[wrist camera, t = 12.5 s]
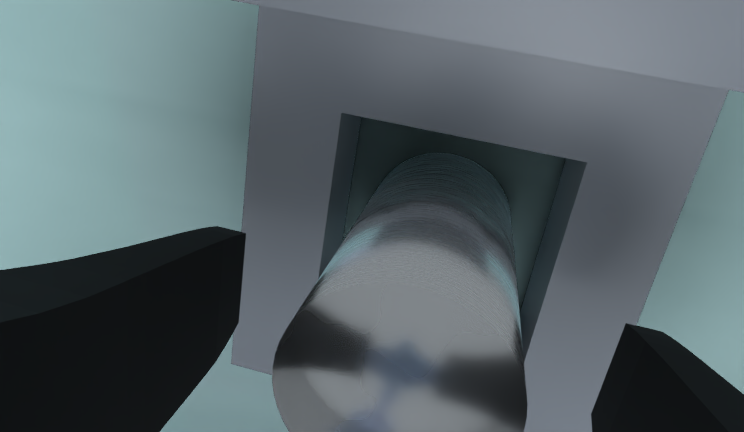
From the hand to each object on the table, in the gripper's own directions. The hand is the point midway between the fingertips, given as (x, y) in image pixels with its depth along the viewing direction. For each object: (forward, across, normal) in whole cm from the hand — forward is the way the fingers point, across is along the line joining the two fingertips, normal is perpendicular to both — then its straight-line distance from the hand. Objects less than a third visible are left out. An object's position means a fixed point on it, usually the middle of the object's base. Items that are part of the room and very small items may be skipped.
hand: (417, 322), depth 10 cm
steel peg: (+6, 0, 0) cm, 6 cm away
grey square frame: (+6, 0, 0) cm, 6 cm away
